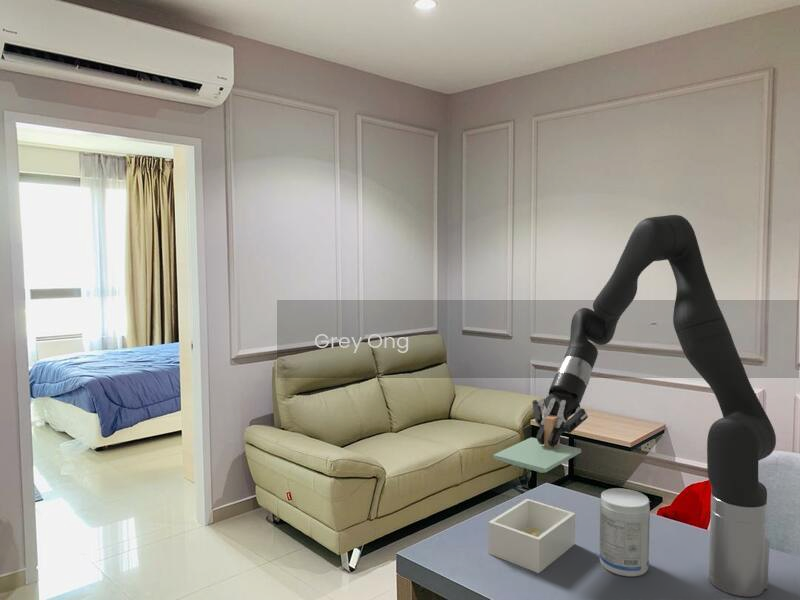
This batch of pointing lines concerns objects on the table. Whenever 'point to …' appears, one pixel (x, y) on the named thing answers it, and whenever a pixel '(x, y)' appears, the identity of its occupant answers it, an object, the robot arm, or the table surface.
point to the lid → (538, 451)
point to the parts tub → (532, 534)
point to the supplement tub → (624, 531)
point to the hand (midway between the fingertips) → (545, 443)
